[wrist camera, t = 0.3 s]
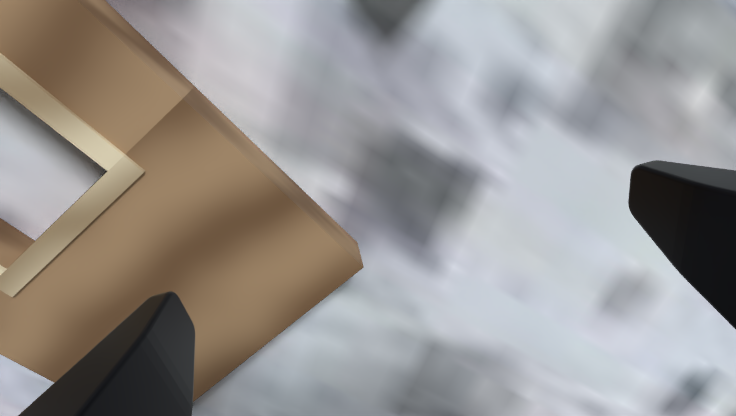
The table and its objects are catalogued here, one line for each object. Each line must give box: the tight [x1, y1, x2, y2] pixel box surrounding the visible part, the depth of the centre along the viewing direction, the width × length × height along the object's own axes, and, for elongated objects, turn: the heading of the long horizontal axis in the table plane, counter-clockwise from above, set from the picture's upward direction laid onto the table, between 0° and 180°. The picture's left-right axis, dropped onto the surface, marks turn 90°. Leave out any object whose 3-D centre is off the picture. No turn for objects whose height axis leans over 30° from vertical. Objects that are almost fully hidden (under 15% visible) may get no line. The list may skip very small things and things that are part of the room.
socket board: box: [0, 0, 363, 402], centre depth 21 cm, size 22×16×3 cm
